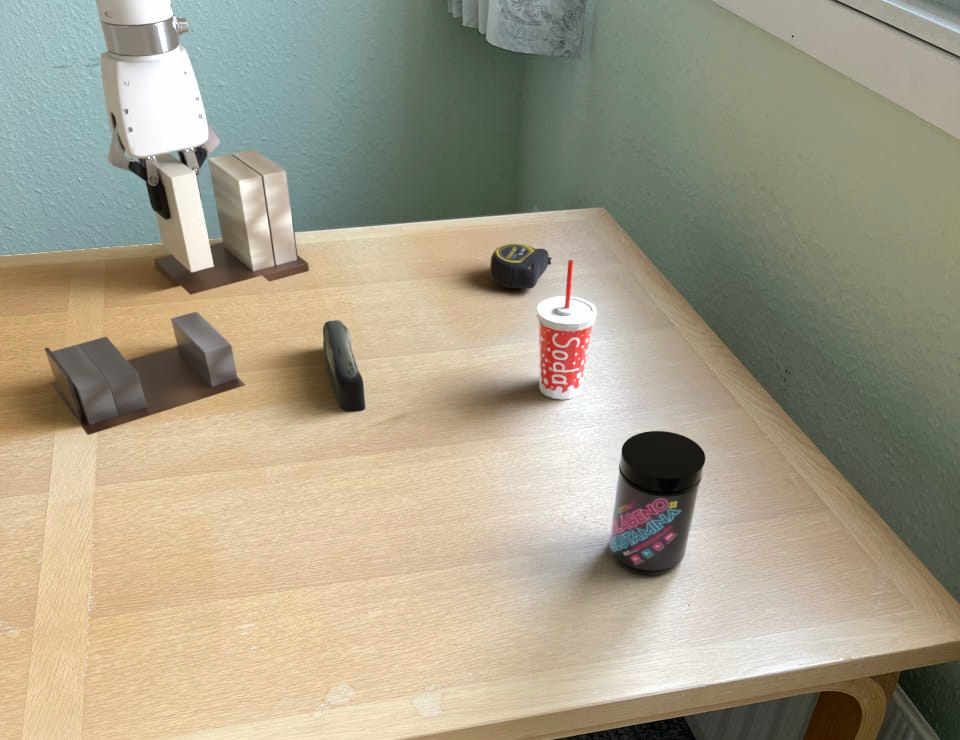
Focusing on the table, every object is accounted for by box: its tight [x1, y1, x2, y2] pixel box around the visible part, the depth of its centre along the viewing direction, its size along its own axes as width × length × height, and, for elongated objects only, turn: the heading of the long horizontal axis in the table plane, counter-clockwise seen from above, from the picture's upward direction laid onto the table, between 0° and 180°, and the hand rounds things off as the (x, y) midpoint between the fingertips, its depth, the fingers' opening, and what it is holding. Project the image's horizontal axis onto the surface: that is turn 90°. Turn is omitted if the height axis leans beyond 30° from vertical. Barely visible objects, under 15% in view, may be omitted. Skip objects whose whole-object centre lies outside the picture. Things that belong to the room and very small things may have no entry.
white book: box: [154, 153, 214, 273], centre depth 115 cm, size 3×9×11 cm, turn 35°
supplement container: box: [608, 430, 706, 576], centre depth 80 cm, size 7×7×10 cm
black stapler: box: [322, 319, 366, 413], centre depth 102 cm, size 5×3×15 cm
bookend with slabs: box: [153, 148, 310, 296], centre depth 119 cm, size 16×12×12 cm
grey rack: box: [44, 311, 246, 436], centre depth 100 cm, size 17×12×6 cm
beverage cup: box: [536, 259, 598, 401], centre depth 98 cm, size 6×6×14 cm
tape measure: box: [489, 243, 553, 289], centre depth 120 cm, size 7×7×4 cm
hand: (178, 210), depth 115 cm, fingers closed on white book, 3 cm apart
